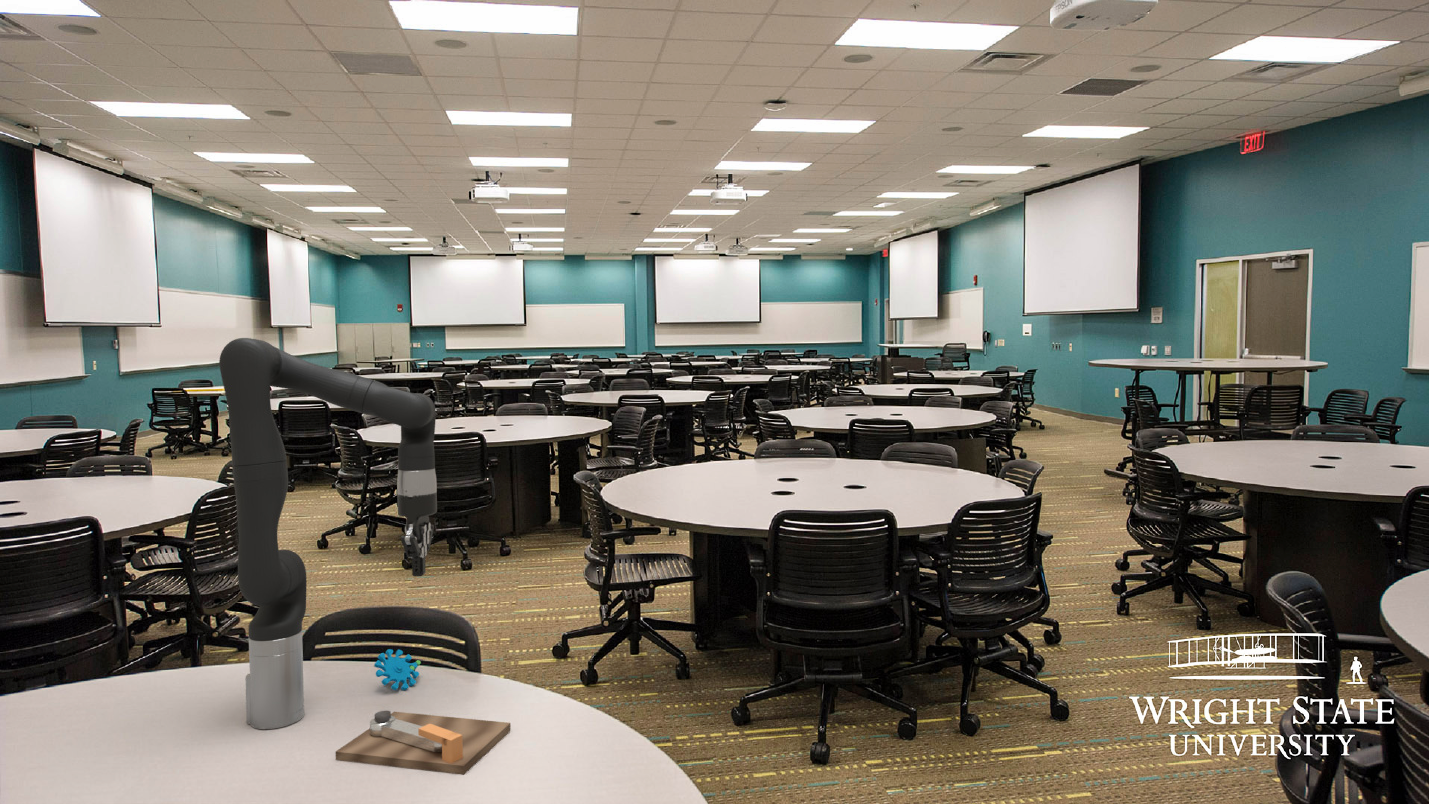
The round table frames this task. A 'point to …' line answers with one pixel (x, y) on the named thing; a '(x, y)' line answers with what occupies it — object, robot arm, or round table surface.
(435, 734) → the block
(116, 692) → the round table surface
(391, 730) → the lever
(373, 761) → the base plate
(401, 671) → the gear
